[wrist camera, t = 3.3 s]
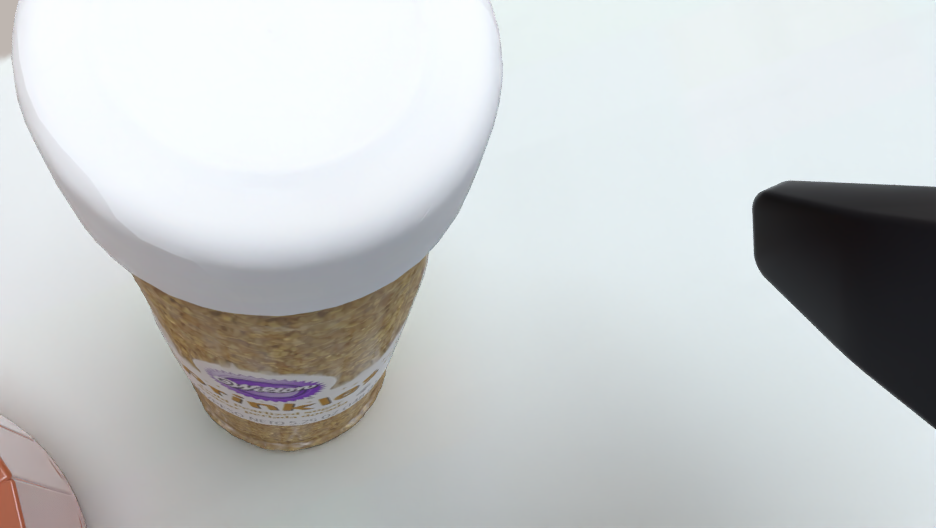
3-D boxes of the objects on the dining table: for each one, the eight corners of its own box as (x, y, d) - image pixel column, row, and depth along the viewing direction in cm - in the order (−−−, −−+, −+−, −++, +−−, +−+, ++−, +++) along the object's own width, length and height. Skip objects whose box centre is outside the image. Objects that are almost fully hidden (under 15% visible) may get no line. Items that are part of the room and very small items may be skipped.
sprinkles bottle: (201, 470, 19) (3, 294, 7) (182, 275, 21) (-15, -174, 8) (405, 434, 20) (559, 224, 8) (374, 251, 22) (463, -182, 9)
